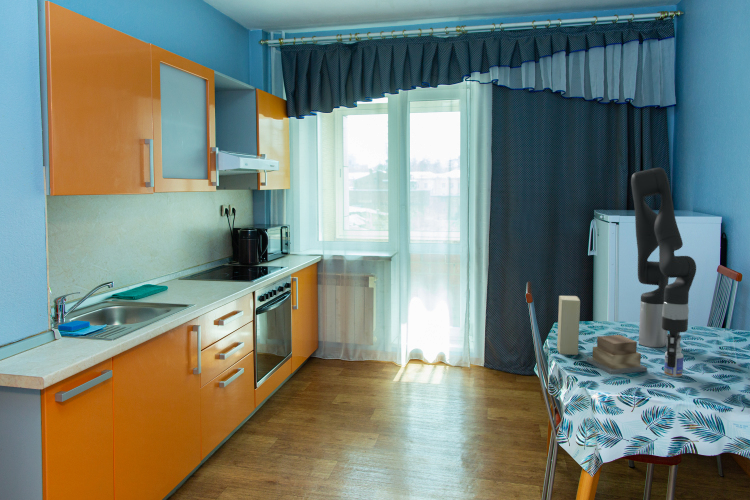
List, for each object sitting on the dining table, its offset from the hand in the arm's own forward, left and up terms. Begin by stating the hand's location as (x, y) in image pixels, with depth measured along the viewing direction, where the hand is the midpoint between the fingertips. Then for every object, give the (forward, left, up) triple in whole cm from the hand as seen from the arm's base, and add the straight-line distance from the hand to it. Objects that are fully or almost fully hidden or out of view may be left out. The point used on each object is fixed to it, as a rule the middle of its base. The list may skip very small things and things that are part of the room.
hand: (672, 363), depth 177 cm
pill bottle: (-1, 0, -4) cm, 4 cm away
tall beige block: (+19, -31, -4) cm, 36 cm away
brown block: (+12, -12, -3) cm, 18 cm away
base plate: (+12, -12, -4) cm, 18 cm away
